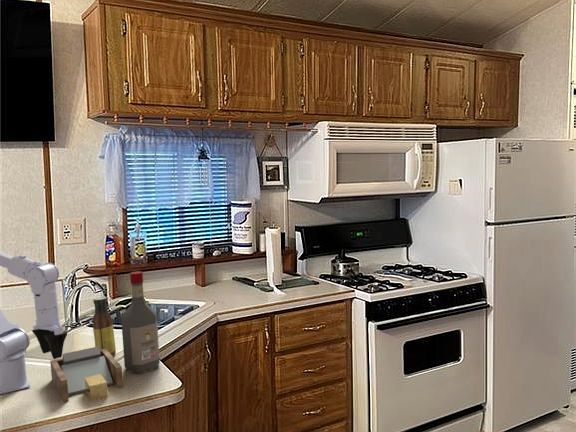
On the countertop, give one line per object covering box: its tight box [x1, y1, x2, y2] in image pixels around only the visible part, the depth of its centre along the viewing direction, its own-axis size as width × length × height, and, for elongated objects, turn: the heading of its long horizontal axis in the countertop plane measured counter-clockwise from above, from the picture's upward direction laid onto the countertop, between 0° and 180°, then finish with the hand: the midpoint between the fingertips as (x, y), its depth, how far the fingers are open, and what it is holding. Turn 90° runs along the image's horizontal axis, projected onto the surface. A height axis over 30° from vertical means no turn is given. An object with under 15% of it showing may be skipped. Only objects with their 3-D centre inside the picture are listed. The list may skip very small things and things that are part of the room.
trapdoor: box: [61, 346, 114, 397], centre depth 152 cm, size 14×12×3 cm
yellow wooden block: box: [85, 374, 109, 402], centre depth 144 cm, size 4×4×7 cm
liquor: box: [121, 270, 161, 374], centre depth 161 cm, size 9×9×30 cm
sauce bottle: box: [92, 296, 117, 357], centre depth 172 cm, size 7×6×20 cm
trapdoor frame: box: [49, 349, 124, 403], centre depth 152 cm, size 18×16×6 cm
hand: (52, 355), depth 147 cm, fingers open, 7 cm apart
